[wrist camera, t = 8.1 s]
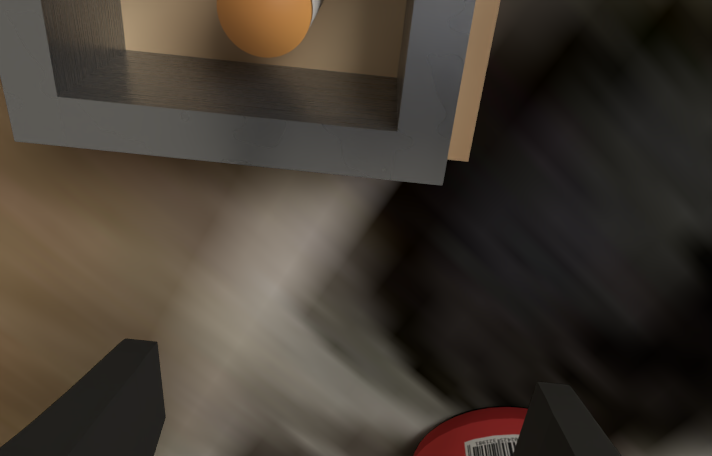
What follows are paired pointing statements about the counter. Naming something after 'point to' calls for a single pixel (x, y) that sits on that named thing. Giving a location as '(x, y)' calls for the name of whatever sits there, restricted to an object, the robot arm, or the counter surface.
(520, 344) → the counter surface
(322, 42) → the board
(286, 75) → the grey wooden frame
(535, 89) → the counter surface
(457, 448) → the canned food
